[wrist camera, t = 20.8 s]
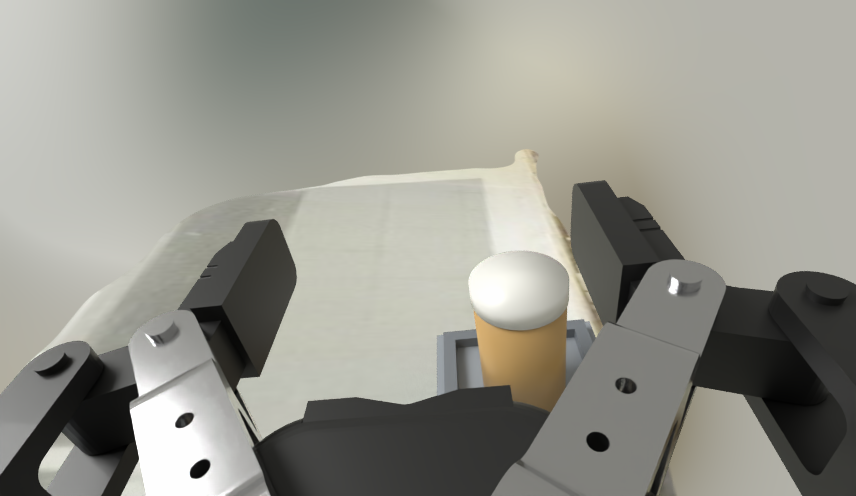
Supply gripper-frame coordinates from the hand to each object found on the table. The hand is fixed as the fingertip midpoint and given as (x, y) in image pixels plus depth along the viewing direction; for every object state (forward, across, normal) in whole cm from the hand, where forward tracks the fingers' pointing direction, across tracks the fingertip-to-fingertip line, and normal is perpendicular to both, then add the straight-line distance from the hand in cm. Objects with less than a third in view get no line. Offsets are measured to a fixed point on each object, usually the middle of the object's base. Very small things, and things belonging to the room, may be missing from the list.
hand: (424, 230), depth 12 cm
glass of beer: (+12, -4, +23) cm, 26 cm away
